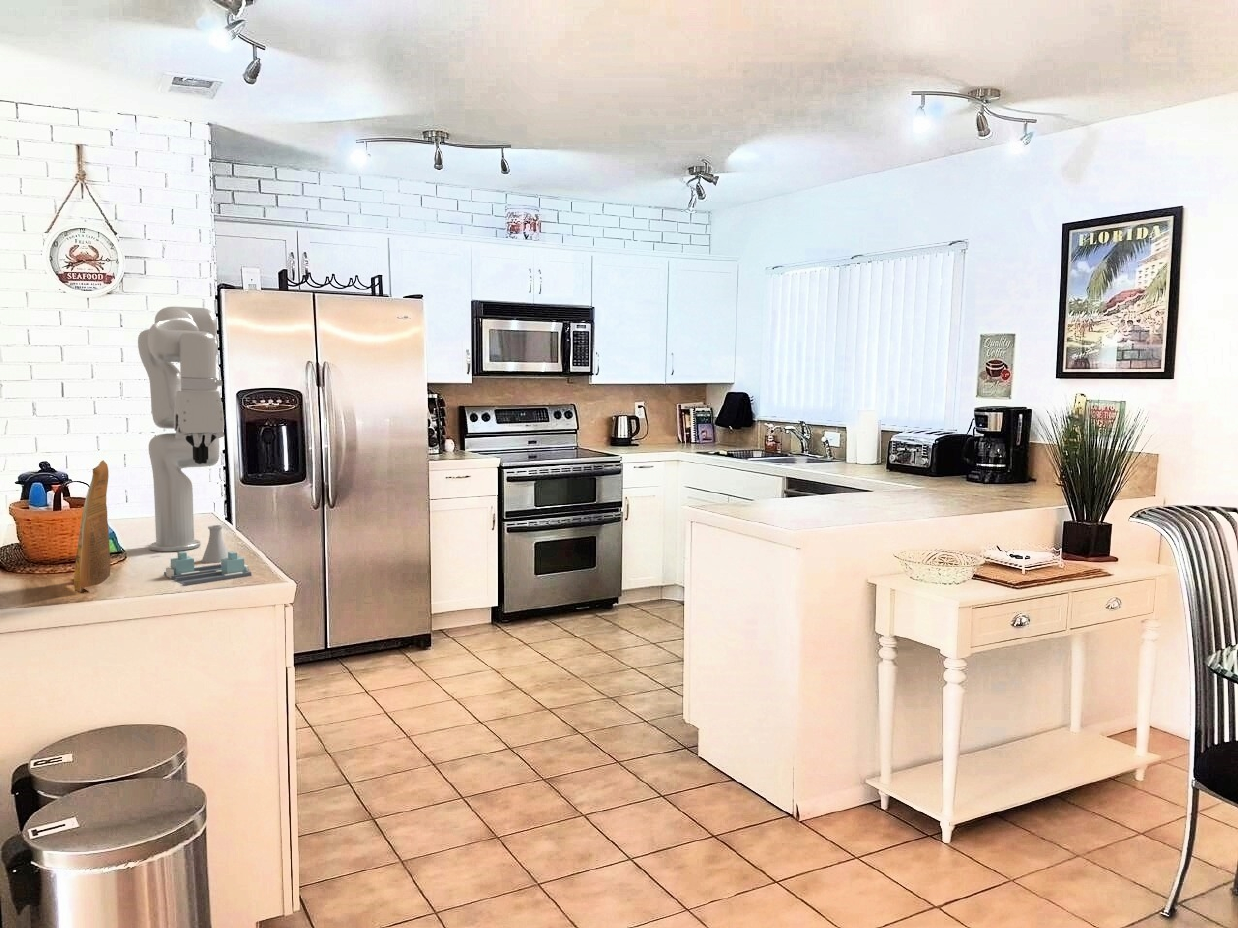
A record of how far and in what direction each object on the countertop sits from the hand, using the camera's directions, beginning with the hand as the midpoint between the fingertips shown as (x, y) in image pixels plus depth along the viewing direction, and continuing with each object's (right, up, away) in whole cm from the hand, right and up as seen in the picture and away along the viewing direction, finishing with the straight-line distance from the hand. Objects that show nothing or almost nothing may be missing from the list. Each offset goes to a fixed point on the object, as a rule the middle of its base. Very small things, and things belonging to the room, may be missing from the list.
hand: (200, 462), depth 211 cm
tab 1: (-4, -26, -1) cm, 27 cm away
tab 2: (+8, -27, 0) cm, 28 cm away
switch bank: (+2, -28, -1) cm, 28 cm away
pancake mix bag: (-21, -28, -6) cm, 36 cm away
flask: (-3, -26, +16) cm, 31 cm away
